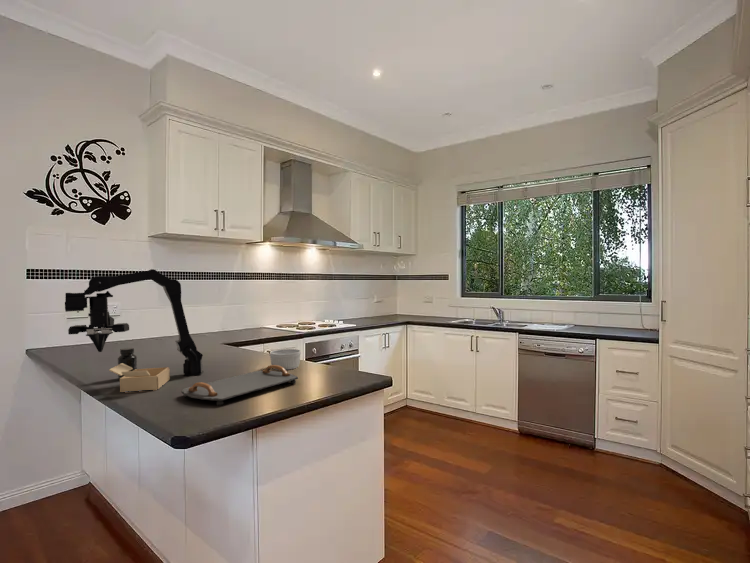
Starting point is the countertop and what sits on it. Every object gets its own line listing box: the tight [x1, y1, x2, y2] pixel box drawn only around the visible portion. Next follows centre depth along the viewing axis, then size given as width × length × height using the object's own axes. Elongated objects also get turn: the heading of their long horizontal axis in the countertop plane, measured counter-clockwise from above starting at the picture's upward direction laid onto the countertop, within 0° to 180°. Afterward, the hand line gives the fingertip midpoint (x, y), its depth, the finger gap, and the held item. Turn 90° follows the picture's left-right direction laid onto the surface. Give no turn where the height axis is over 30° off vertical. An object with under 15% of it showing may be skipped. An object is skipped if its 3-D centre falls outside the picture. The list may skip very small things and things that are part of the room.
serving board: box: [180, 364, 299, 407], centre depth 155 cm, size 39×23×6 cm, turn 144°
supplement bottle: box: [117, 347, 138, 381], centre depth 178 cm, size 7×7×12 cm
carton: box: [119, 366, 171, 393], centre depth 165 cm, size 12×16×5 cm
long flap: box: [108, 363, 133, 376], centre depth 163 cm, size 1×12×4 cm
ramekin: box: [269, 348, 302, 371], centre depth 192 cm, size 13×13×7 cm
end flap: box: [121, 370, 150, 377], centre depth 154 cm, size 8×1×4 cm
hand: (100, 351), depth 165 cm, fingers closed
